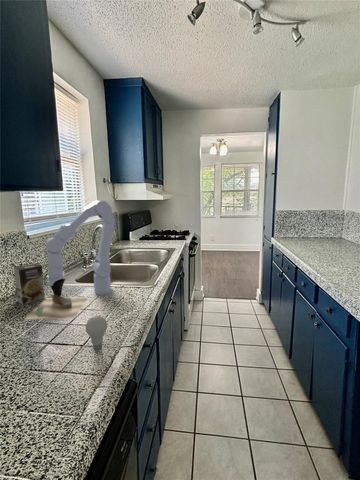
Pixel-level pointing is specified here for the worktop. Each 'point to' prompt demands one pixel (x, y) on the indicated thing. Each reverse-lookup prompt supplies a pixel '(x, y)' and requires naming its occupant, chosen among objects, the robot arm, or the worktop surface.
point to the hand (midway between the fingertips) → (57, 296)
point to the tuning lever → (62, 301)
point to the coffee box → (29, 283)
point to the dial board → (57, 309)
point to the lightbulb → (96, 331)
